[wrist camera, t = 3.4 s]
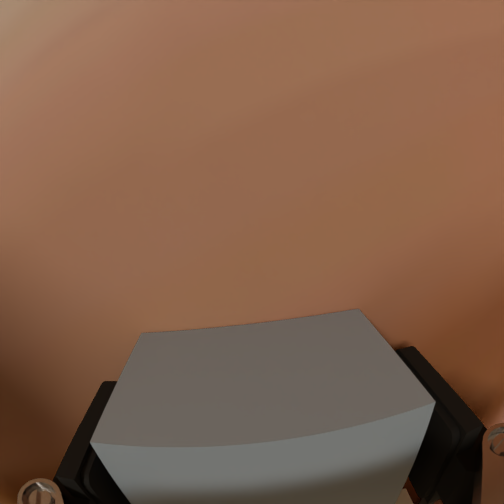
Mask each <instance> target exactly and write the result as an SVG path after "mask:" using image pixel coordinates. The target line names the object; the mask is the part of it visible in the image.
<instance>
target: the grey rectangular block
mask: <svg viewBox="0 0 504 504" xmlns="http://www.w3.org/2000/svg"><path fill="white" fill-rule="evenodd" d="M434 406H435V400H434V399H433V398H432V397H431V395H430V394H429V393H428V392H427V390H426V389H425V388H424V387H423V385H422V384H421V383H420V382H419V380H418V379H417V378H416V377H415V375H414V374H413V373H412V372H411V370H410V369H409V368H408V367H407V366H406V364H405V363H404V362H403V361H402V360H401V358H400V357H399V356H398V355H397V353H396V352H395V351H394V350H393V349H392V347H391V346H390V345H389V344H388V343H387V341H386V340H385V339H384V338H383V337H382V336H381V334H380V333H379V332H378V331H377V330H376V328H375V327H374V326H373V325H372V324H371V323H370V321H369V320H368V319H367V318H366V317H365V316H364V314H363V313H362V312H361V311H360V310H359V309H354V310H348V311H342V312H336V313H329V314H323V315H316V316H309V317H302V318H295V319H288V320H280V321H272V322H264V323H255V324H246V325H237V326H227V327H217V328H206V329H195V330H182V331H169V332H154V333H141V335H140V337H139V339H138V341H137V343H136V345H135V347H134V349H133V351H132V353H131V355H130V357H129V359H128V361H127V363H126V365H125V367H124V369H123V371H122V373H121V375H120V377H119V379H118V382H117V384H116V386H115V388H114V390H113V392H112V394H111V396H110V398H109V401H108V403H107V405H106V407H105V409H104V411H103V414H102V416H101V418H100V420H99V422H98V425H97V427H96V429H95V431H94V434H93V436H92V438H91V441H90V443H91V445H92V447H93V448H94V450H95V452H96V453H97V455H98V457H99V458H100V460H101V461H102V463H103V464H104V466H105V468H106V469H107V471H108V472H109V474H110V475H111V477H112V478H113V479H114V481H115V482H116V484H117V485H118V487H119V488H120V489H121V491H122V492H123V494H124V495H125V496H126V498H127V499H128V500H129V502H130V503H131V504H395V503H396V501H397V499H398V497H399V495H400V492H401V490H402V488H403V486H404V484H405V482H406V480H407V477H408V475H409V473H410V471H411V468H412V466H413V464H414V461H415V459H416V456H417V454H418V451H419V449H420V446H421V443H422V441H423V438H424V435H425V433H426V430H427V427H428V424H429V421H430V418H431V415H432V412H433V409H434Z"/></svg>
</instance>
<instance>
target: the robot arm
mask: <svg viewBox="0 0 504 504" xmlns="http://www.w3.org/2000/svg"><path fill="white" fill-rule="evenodd" d="M395 352H396V353H397V355H398V356H399V357H400V358H401V360H402V361H403V362H404V363H405V364H406V366H407V367H408V368H409V369H410V370H411V372H412V373H413V374H414V375H415V377H416V378H417V379H418V380H419V382H420V383H421V384H422V385H423V387H424V388H425V389H426V390H427V392H428V393H429V394H430V395H431V397H432V398H433V399H434V400H435V406H434V409H433V412H432V415H431V418H430V421H429V424H428V427H427V430H426V433H425V435H424V438H423V441H422V443H421V446H420V449H419V451H418V454H417V456H416V459H415V461H414V464H413V466H412V468H411V471H410V473H409V475H408V477H409V479H410V481H411V483H412V485H413V487H414V489H415V491H416V493H417V495H418V496H419V497H420V498H425V500H426V502H427V504H430V503H432V502H434V501H437V500H439V499H441V500H442V502H443V504H504V423H499V424H495V425H493V426H491V427H490V428H488V429H486V428H485V427H484V425H483V424H482V422H481V421H480V420H479V419H478V418H477V416H476V415H475V414H474V413H473V412H472V411H471V409H470V408H469V407H468V406H467V405H466V404H465V403H464V401H463V400H462V399H461V398H460V397H459V396H458V395H457V393H456V392H455V391H454V390H453V389H452V388H451V387H450V386H449V384H448V383H447V382H446V381H445V380H444V379H443V378H442V377H441V375H440V374H439V373H438V372H437V371H436V370H435V369H434V368H433V367H432V366H431V364H430V363H429V362H428V361H427V360H426V359H425V358H424V357H423V356H422V355H421V354H420V353H419V351H418V350H417V349H416V348H415V347H413V346H410V347H406V348H402V349H398V350H396V351H395ZM117 382H118V381H104V382H103V383H102V384H101V386H100V388H99V390H98V392H97V394H96V396H95V397H94V399H93V401H92V403H91V405H90V407H89V409H88V411H87V413H86V415H85V416H84V418H83V420H82V422H81V424H80V425H79V427H78V429H77V431H76V433H75V435H74V437H73V439H72V441H71V443H70V445H69V448H68V450H67V452H66V454H65V456H64V458H63V460H62V462H61V464H60V466H59V468H58V471H57V473H56V475H55V477H54V479H53V481H51V480H49V479H44V478H38V479H33V480H31V481H28V482H27V483H26V484H24V485H23V486H22V488H21V489H20V491H19V493H18V504H131V503H130V502H129V500H128V499H127V498H126V496H125V495H124V494H123V492H122V491H121V489H120V488H119V487H118V485H117V484H116V482H115V481H114V479H113V478H112V477H111V475H110V474H109V472H108V471H107V469H106V468H105V466H104V464H103V463H102V461H101V460H100V458H99V457H98V455H97V453H96V452H95V450H94V448H93V447H92V445H91V443H90V441H91V438H92V436H93V434H94V431H95V429H96V427H97V425H98V422H99V420H100V418H101V416H102V414H103V411H104V409H105V407H106V405H107V403H108V401H109V398H110V396H111V394H112V392H113V390H114V388H115V386H116V384H117Z"/></svg>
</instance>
